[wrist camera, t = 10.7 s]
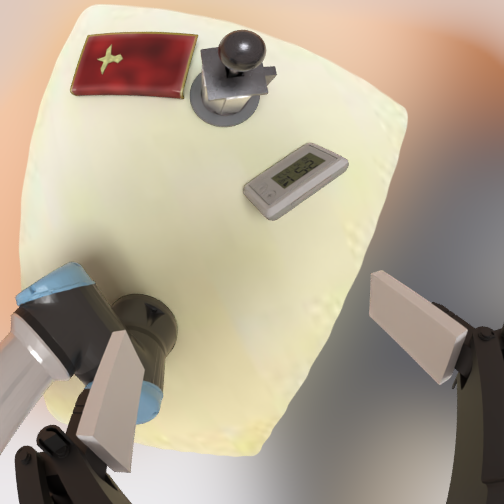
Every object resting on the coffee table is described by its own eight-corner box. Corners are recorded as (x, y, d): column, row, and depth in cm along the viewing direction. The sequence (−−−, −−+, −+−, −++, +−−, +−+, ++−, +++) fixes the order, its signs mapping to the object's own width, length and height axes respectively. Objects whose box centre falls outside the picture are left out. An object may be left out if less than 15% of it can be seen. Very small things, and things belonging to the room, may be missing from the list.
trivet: (195, 132, 43) (195, 132, 42) (186, 71, 39) (185, 69, 38) (263, 122, 44) (264, 121, 44) (252, 62, 40) (253, 60, 40)
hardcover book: (183, 100, 41) (181, 94, 37) (77, 96, 36) (68, 92, 32) (198, 43, 38) (198, 34, 34) (94, 42, 33) (87, 34, 29)
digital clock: (314, 140, 47) (341, 136, 37) (330, 184, 50) (359, 190, 40) (233, 172, 46) (243, 174, 36) (253, 218, 49) (267, 232, 40)
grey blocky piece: (204, 120, 42) (205, 103, 30) (197, 76, 39) (197, 47, 27) (263, 111, 43) (285, 94, 31) (255, 69, 40) (273, 41, 28)
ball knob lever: (213, 106, 39) (223, 64, 21) (209, 79, 37) (216, 24, 19) (244, 101, 40) (275, 60, 21) (239, 75, 38) (266, 21, 20)
